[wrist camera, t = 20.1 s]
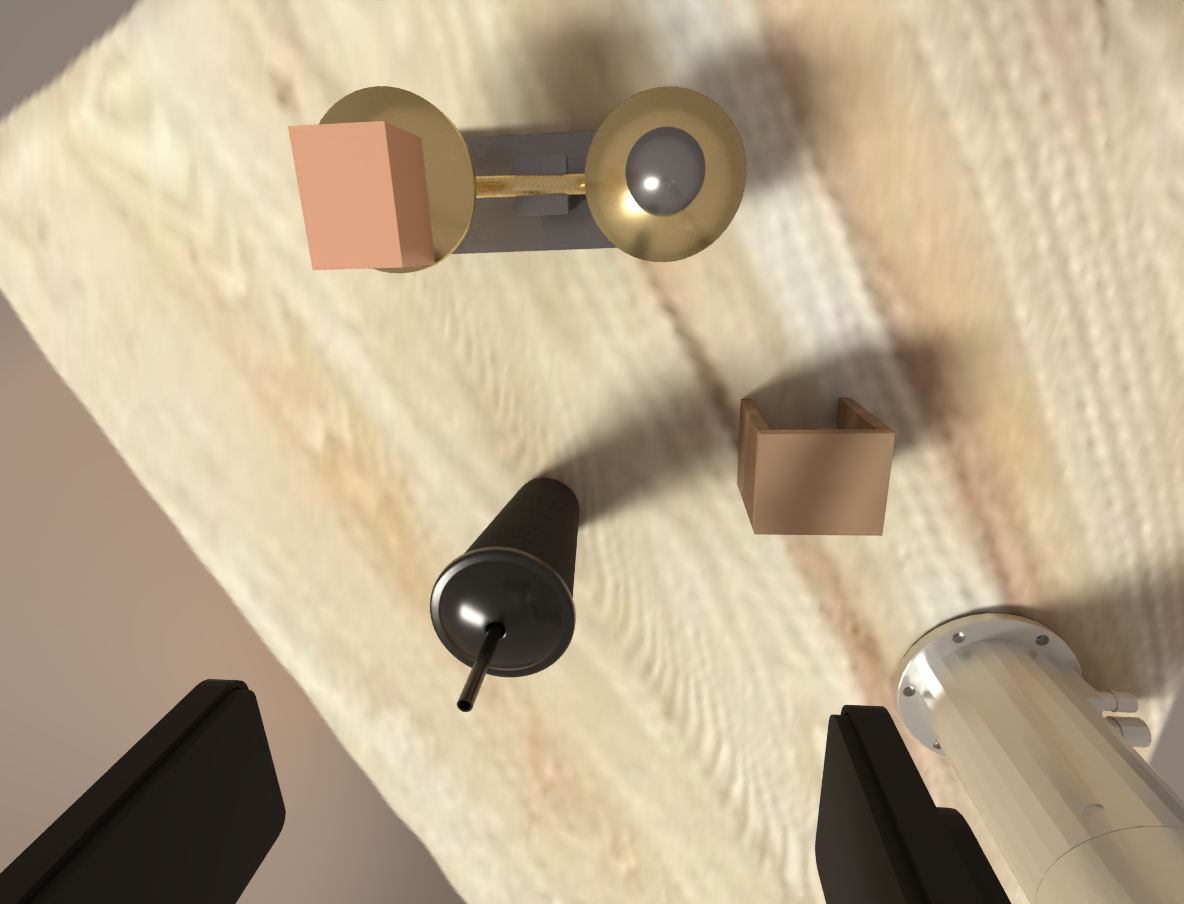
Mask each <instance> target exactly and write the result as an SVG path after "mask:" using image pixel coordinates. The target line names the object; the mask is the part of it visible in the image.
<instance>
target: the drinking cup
mask: <svg viewBox="0 0 1184 904" xmlns="http://www.w3.org/2000/svg"><path fill="white" fill-rule="evenodd" d="M578 521H579V504H578V501H577V498H576V496H575V495H574V493H573V492H572V491H571V489H569V488H568V487H567V486H566V485H565V484H563V483H561V482H559V481H557V480H554V479H548V478H541V479H535V480H532V481H530V482H528V483H526V484H525V485H524V486H523V487H522V488H521V489H520V490H519V491H518V492H517V493H516V494H515V496H514V497H513V498H512V499H511V500H510V501H509V502H508V504H507V505H506V506H505V507H504V508H503V509H502V511H501V512H500V513H499V514H498V515H497V516H496V517H495V519H494V520H493V521H492V522H491V523H490V524H489V526H488V527H487V528H486V529H485V530H484V531H483V532H482V534H481V535H480V536H479V537H478V538H477V539H476V541H475V542H474V543H473V544H472V545H471V546H470V547H469V549H468V550H467V551H466V552H465V553H464V554H463V555H461V556H459V557H458V558H456V559H455V560H453V561H452V562H451V563H450V564H449V565H448V566H447V567H446V568H445V569H444V570H443V571H442V573H441V574H440V575H439V577H438V579H437V580H436V582H435V585H434V587H433V590H432V593H431V599H430V613H431V619H432V623H433V626H434V629H435V631H436V633H437V635H438V637H439V639H440V640H441V642H442V643H443V645H444V646H445V647H446V648H447V650H448V651H449V652H450V653H451V654H452V655H453V656H455V657H456V658H457V659H458V660H460V661H461V662H462V663H464V664H466V665H467V666H469V667H471V668H472V669H471V672H470V674H469V676H468V679H467V681H466V683H465V686H464V688H463V690H462V693H461V695H460V697H459V700H458V702H457V707H458V708H459V709H460V710H461V711H463V712H468V711H471V710H472V708H473V705H474V703H475V700H476V698H477V695H478V693H479V690H480V688H481V685H482V682H483V680H484V677H485V675H486V674H489V675H493V676H499V677H522V676H527V675H531V674H534V673H537V672H540V671H542V670H544V669H546V668H548V667H549V666H550V665H552V664H553V663H555V662H556V661H557V660H558V659H559V658H560V657H561V656H562V655H563V654H564V652H565V651H566V649H567V648H568V646H569V644H570V642H571V640H572V637H573V633H574V629H575V623H576V612H575V605H574V602H573V585H574V573H575V560H576V547H577V534H578Z"/></svg>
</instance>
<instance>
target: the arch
mask: <svg viewBox="0 0 1184 904" xmlns="http://www.w3.org/2000/svg"><path fill="white" fill-rule="evenodd" d="M894 440H895V433H894V432H893V431H892V430H891V429H889V428H888V427H887V426H885V425H884V424H883V423H882V422H880V421H879V420H878V419H877V418H875V417H874V416H873V415H871V414H870V413H869V412H868V411H866V410H865V409H864V408H862V407H861V406H860V405H859V404H857V403H856V402H855V401H854V400H852V399H851V398H839V407H838V418H837V428H836V429H815V430H770V428H769V427H768V425H767V423H766V422H765V420H764V419H763V417H762V415H761V414H760V412H759V411H758V409H757V407H756V406H755V404H754V402H753V401H752V399H743V400H741V406H740V430H739V453H738V477H737V484H738V487H739V490H740V493H741V496H742V499H743V502H744V505H745V508H746V511H747V514H748V517H749V519H750V522H751V525H752V528H753V531H754V534H780V535H877V536H882V533H883V525H884V518H885V510H886V502H887V494H888V487H889V479H890V471H891V463H892V456H893V448H894Z"/></svg>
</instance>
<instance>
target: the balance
mask: <svg viewBox="0 0 1184 904" xmlns="http://www.w3.org/2000/svg"><path fill="white" fill-rule="evenodd" d="M373 121H386V122H388V123H390V124H392V125H394V126H396V127H399V128H401V129H403V130H405V131H407V132H409V133H412V134H414V135H416V136H418V137H420V138H422V148H423V157H424V166H425V175H426V184H427V193H428V203H429V212H430V221H431V230H432V239H433V248H434V258H435V265H436V264H438V263H439V262H441V261H443V260H444V259H445V258H447V257H448V256H449V255H450V254H462V253H489V252H515V251H541V250H567V249H594V248H619V249H621V250H622V251H624V252H625V253H627V254H629V255H631V256H633V257H636V258H639V259H642V260H647V261H652V262H670V261H677V260H681V259H685V258H687V257H690V256H692V255H695V254H697V253H698V252H700V251H702V250H704V249H705V248H707V247H708V246H709V245H711V244H712V243H713V242H714V241H715V240H716V239H717V238H719V237H720V236H721V234H722V233H723V232H724V231H725V230H726V228H727V227H728V226H729V224H730V223H731V221H732V220H733V218H734V216H735V214H736V212H737V210H738V208H739V205H740V202H741V200H742V197H743V192H744V188H745V181H746V159H745V152H744V148H743V144H742V141H741V138H740V136H739V133H738V131H737V129H736V127H735V125H734V124H733V122H732V120H731V119H730V118H729V116H728V115H727V114H726V113H725V111H724V110H723V109H722V108H721V107H719V106H718V105H717V104H716V103H715V102H714V101H712V100H711V99H709V98H708V97H706V96H704V95H702V94H700V93H698V92H696V91H693V90H690V89H686V88H680V87H658V88H652V89H649V90H646V91H642V92H640V93H638V94H636V95H633V96H632V97H630V98H628V99H627V100H625V101H624V102H622V103H621V104H620V105H619V106H617V107H616V108H615V109H614V110H613V111H612V112H611V113H610V114H609V115H608V116H607V117H606V119H605V120H604V121H603V123H602V124H601V126H600V127H599V129H598V130H597V131H580V132H563V133H546V134H529V135H512V136H495V137H478V138H463V137H462V135H461V134H460V132H459V131H458V129H457V128H456V127H455V125H454V124H453V123H452V122H451V120H450V119H449V118H448V117H447V116H446V115H445V114H444V113H443V112H442V111H440V110H439V109H438V108H437V107H436V106H434V105H433V104H431V103H430V102H428V101H427V100H425V99H423V98H422V97H420V96H418V95H416V94H414V93H412V92H409V91H406V90H403V89H400V88H394V87H388V86H376V87H369V88H364V89H361V90H358V91H355V92H353V93H351V94H349V95H347V96H345V97H344V98H342V99H341V100H339V101H338V102H337V103H335V104H334V105H333V106H332V107H331V108H330V109H329V110H328V111H327V113H326V114H325V115H324V117H323V118H322V119H321V121H320V123H319V125H320V124H338V123H355V122H373ZM432 266H434V265H425V266H413V267H399V268H373V269H376V270H379V271H383V272H389V273H408V272H416V271H420V270H424V269H427V268H430V267H432Z"/></svg>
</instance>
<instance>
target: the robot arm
mask: <svg viewBox="0 0 1184 904" xmlns="http://www.w3.org/2000/svg"><path fill="white" fill-rule="evenodd" d="M893 699H894V703H895V706H896V710H897V712H898V714H899V716H900V718H901V720H902V722H903V724H904V726H905V727H906V729H907V730H908V731H909V733H910V734H911V735H912V736H913V737H914V738H915V739H916V740H917V741H918V742H920V743H921V744H922V745H923V746H925V747H927V748H928V749H930V750H932V751H934V752H936V753H939V754H941V755H944V756H946V757H947V758H948V760H949V762H950V764H951V765H952V767H953V769H954V771H955V772H956V774H957V776H958V778H959V779H960V781H961V783H962V785H963V786H964V788H965V790H966V792H967V793H968V795H969V797H970V799H971V800H972V802H973V804H974V806H975V807H976V809H977V811H978V813H979V815H980V816H981V818H982V820H983V822H984V823H985V825H986V827H987V829H988V830H989V832H990V834H991V836H992V837H993V839H994V841H995V843H996V844H997V846H998V848H999V850H1000V851H1001V853H1002V855H1003V857H1004V858H1005V860H1006V862H1007V864H1008V865H1009V867H1010V869H1011V871H1012V872H1013V874H1014V876H1015V878H1016V879H1017V881H1018V883H1019V885H1020V886H1021V888H1022V890H1023V892H1024V893H1025V895H1026V897H1027V899H1028V900H1029V902H1030V904H1184V801H1183V800H1182V799H1181V798H1180V797H1179V796H1178V795H1177V793H1176V792H1175V791H1174V790H1173V789H1172V788H1171V787H1170V786H1169V785H1168V784H1167V783H1166V782H1165V781H1164V780H1163V779H1162V778H1161V777H1160V776H1159V775H1158V774H1157V772H1156V771H1154V769H1153V768H1152V767H1151V766H1150V765H1149V764H1148V763H1147V762H1146V761H1145V760H1144V759H1143V758H1142V757H1141V756H1140V755H1139V754H1138V752H1137V751H1136V750H1135V749H1134V748H1133V747H1144V748H1145V747H1148V746H1149V745H1150V743H1151V733H1150V730H1149V728H1148V726H1147V725H1146V723H1145V722H1144V721H1143V720H1141V719H1140V718H1138V717H1114V716H1107V717H1103V716H1102V711H1103V710H1105V711H1112V712H1130V713H1133V712H1136V711H1137V710H1138V702H1137V699H1136V697H1135V696H1134V694H1133V693H1131V692H1129V691H1097V690H1096V689H1095V688H1093V687H1091V686H1090V685H1089V684H1088V683H1087V682H1086V681H1085V680H1084V679H1083V677H1082V671H1081V666H1080V664H1079V662H1078V660H1077V658H1076V656H1075V654H1074V652H1073V651H1072V650H1071V649H1070V648H1069V646H1068V645H1067V644H1066V643H1065V642H1064V641H1063V640H1062V639H1061V638H1060V637H1059V636H1058V635H1057V634H1055V633H1054V632H1053V631H1052V630H1050V629H1049V628H1047V627H1045V626H1044V625H1042V624H1041V623H1039V622H1036V621H1033V620H1031V619H1028V618H1025V617H1022V616H1017V615H1011V614H1002V613H986V614H978V615H970V616H967V617H963V618H960V619H956V620H953V621H950V622H948V623H946V624H944V625H942V626H939V627H937V628H936V629H934V630H932V631H931V632H929V633H928V634H926V635H925V636H923V637H922V638H921V639H920V640H919V641H918V642H917V643H916V644H915V645H913V646H912V647H911V648H910V650H909V651H908V652H907V654H906V655H905V656H904V658H903V659H902V661H901V663H900V665H899V667H898V669H897V671H896V674H895V679H894V684H893ZM285 813H286V812H285V806H284V802H283V798H282V795H281V791H280V787H279V784H278V779H277V775H276V772H275V768H274V764H273V761H272V756H271V753H270V749H269V745H268V742H267V737H266V734H265V730H264V726H263V722H262V719H261V714H260V711H259V707H258V703H257V700H256V696H255V694H254V692H252V691H251V690H249V689H248V687H247V685H246V684H245V683H244V682H243V681H239V680H218V679H217V680H216V679H207V680H205V681H202V682H201V683H199V684H198V685H197V686H196V687H195V688H194V689H193V690H192V691H190V692H189V693H188V694H187V695H186V696H185V697H184V698H183V699H182V700H181V701H180V702H179V703H178V704H177V705H176V706H175V707H174V708H173V709H172V710H171V711H170V712H169V713H168V714H166V715H165V717H163V718H162V719H161V720H160V721H159V722H158V723H157V724H156V725H155V726H154V727H153V728H152V729H151V730H150V731H149V732H148V733H147V734H146V735H145V736H143V738H142V739H140V740H139V741H138V742H137V743H136V744H135V745H134V746H133V747H132V748H131V749H130V750H129V751H128V752H127V753H126V754H125V755H124V756H123V757H122V758H120V759H119V760H118V762H116V763H115V764H114V765H113V766H112V767H111V768H110V769H109V770H108V771H107V772H106V773H105V774H104V775H103V776H102V777H101V778H100V779H99V780H98V781H96V782H95V783H94V784H93V785H92V786H91V787H90V788H89V789H88V790H87V791H86V792H85V793H84V794H83V795H82V796H81V797H80V798H79V799H78V800H77V801H76V802H75V803H74V804H72V805H71V807H69V808H68V809H67V810H66V811H65V812H64V813H63V814H62V815H61V816H60V817H59V818H58V819H57V820H56V821H55V822H54V823H53V824H52V825H51V826H49V827H48V828H47V829H46V830H45V831H44V832H43V833H42V834H41V835H40V836H39V837H38V838H37V839H36V840H35V841H34V842H33V843H32V844H31V845H30V846H29V847H28V848H27V849H25V850H24V851H23V852H22V853H21V854H20V855H19V856H18V857H17V858H16V859H15V860H14V861H13V862H12V863H11V864H10V865H9V866H8V867H7V868H6V869H5V870H4V871H3V872H1V873H0V904H236V902H237V900H238V899H239V897H240V896H241V894H242V893H243V891H244V889H245V888H246V886H247V885H248V883H249V882H250V880H251V878H252V877H253V875H254V874H255V872H256V871H257V869H258V868H259V866H260V864H261V863H262V861H263V860H264V858H265V856H266V855H267V853H268V852H269V850H270V849H271V847H272V846H273V844H274V842H275V841H276V839H277V838H278V836H279V834H280V832H281V830H282V828H283V825H284V821H285ZM815 854H816V863H817V869H818V873H819V877H820V881H821V885H822V889H823V893H824V896H825V900H826V904H1011V902H1010V900H1009V898H1008V897H1007V895H1006V893H1005V891H1004V889H1003V887H1002V885H1001V884H1000V882H999V880H998V878H997V876H996V874H995V872H994V871H993V869H992V867H991V865H990V863H989V861H988V860H987V858H986V856H985V854H984V852H983V850H982V848H981V847H980V845H979V843H978V841H977V839H976V837H975V836H974V834H973V832H972V830H971V828H970V826H969V825H968V823H967V822H966V820H965V819H964V817H963V816H962V815H961V814H960V813H959V812H958V811H957V810H956V809H952V808H942V807H936V806H935V804H934V802H933V800H932V798H931V796H930V794H929V792H928V790H927V788H926V786H925V784H924V782H923V780H922V778H921V776H920V774H919V772H918V770H917V768H916V766H915V764H914V762H913V760H912V758H911V756H910V754H909V752H908V750H907V748H906V746H905V744H904V742H903V740H902V738H901V736H900V734H899V732H898V730H897V728H896V726H895V724H894V722H893V720H892V718H891V716H890V714H889V712H888V711H887V709H886V708H884V707H883V706H860V705H844V706H843V708H842V711H841V715H831V716H830V718H829V725H828V734H827V743H826V752H825V761H824V770H823V779H822V787H821V796H820V805H819V814H818V823H817V832H816V841H815Z"/></svg>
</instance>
